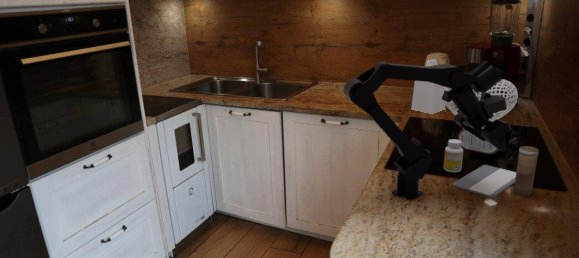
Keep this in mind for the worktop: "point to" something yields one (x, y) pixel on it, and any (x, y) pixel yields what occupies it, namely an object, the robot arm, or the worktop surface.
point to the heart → (491, 95)
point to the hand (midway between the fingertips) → (494, 145)
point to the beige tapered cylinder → (525, 170)
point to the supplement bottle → (453, 156)
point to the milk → (428, 95)
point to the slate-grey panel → (487, 181)
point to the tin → (475, 143)
